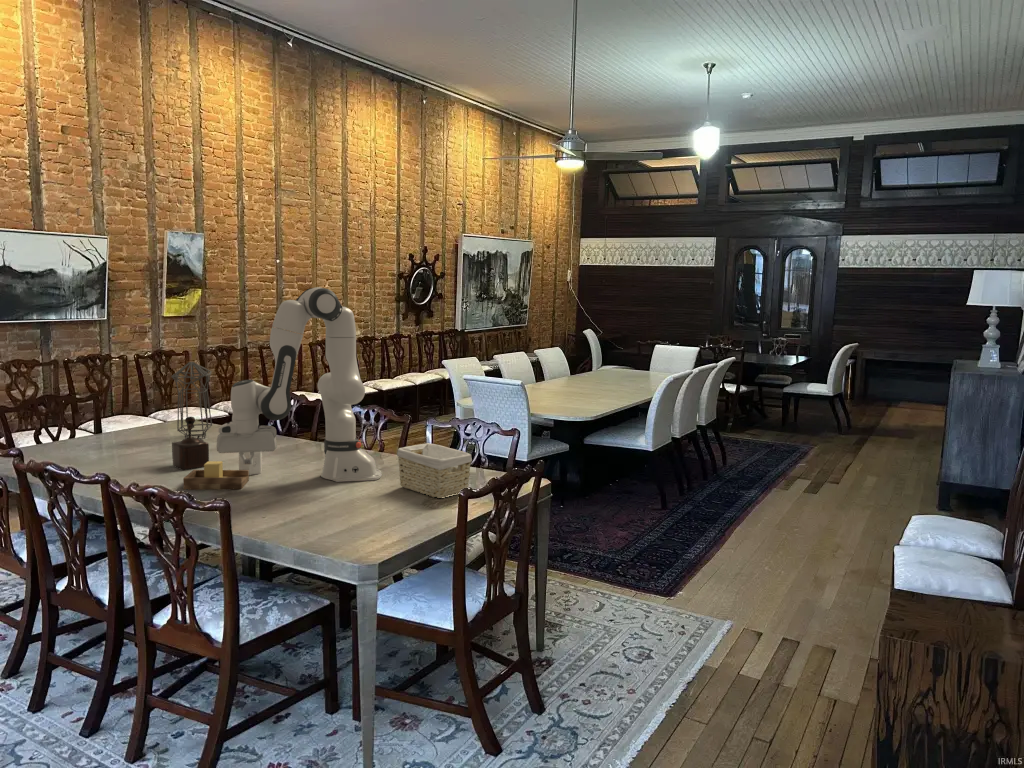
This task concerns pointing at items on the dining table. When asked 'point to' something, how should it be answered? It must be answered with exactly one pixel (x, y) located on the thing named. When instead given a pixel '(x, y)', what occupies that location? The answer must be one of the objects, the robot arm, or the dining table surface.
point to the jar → (253, 468)
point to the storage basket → (434, 469)
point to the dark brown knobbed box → (190, 450)
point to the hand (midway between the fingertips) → (248, 464)
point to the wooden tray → (216, 480)
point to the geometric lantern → (193, 392)
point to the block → (213, 469)
